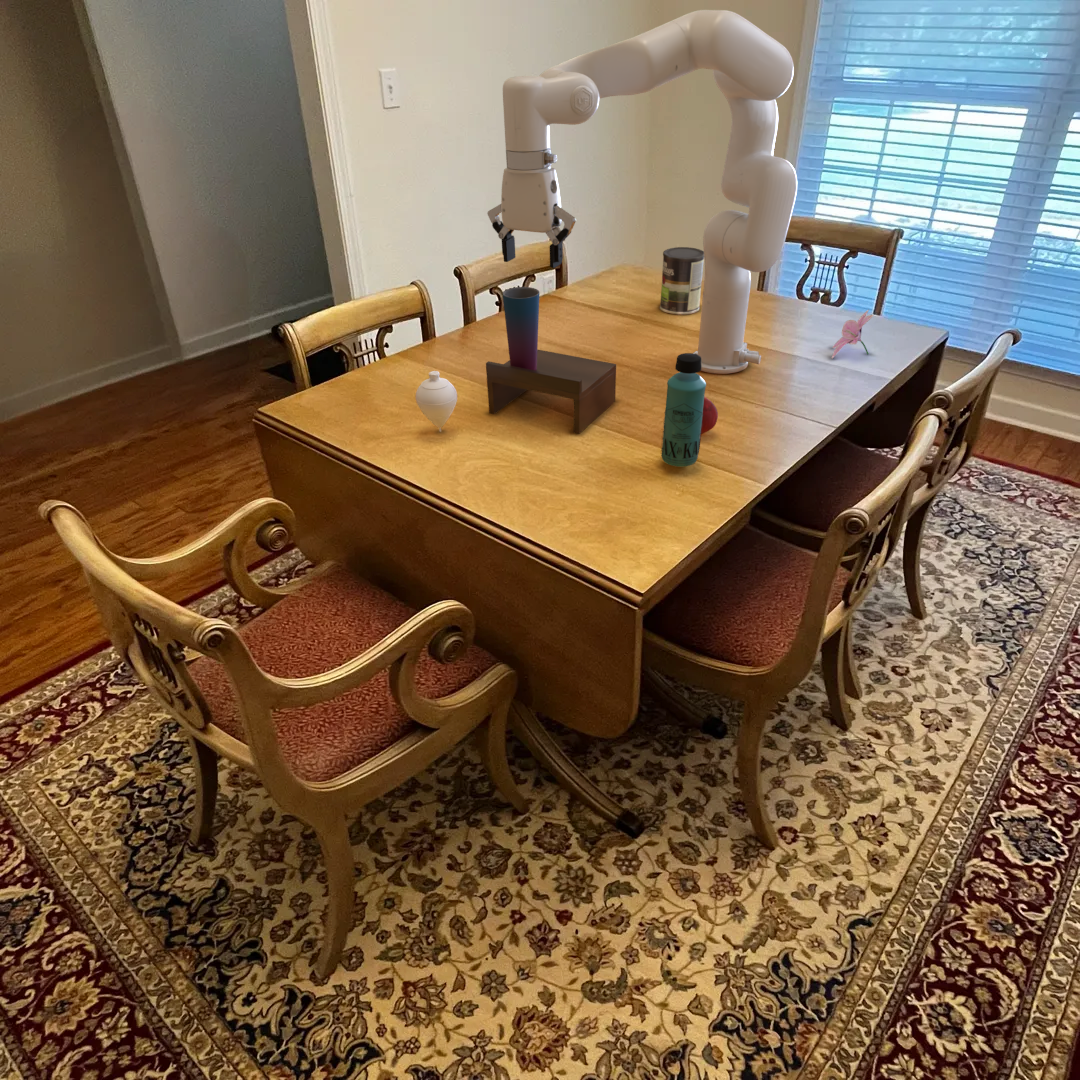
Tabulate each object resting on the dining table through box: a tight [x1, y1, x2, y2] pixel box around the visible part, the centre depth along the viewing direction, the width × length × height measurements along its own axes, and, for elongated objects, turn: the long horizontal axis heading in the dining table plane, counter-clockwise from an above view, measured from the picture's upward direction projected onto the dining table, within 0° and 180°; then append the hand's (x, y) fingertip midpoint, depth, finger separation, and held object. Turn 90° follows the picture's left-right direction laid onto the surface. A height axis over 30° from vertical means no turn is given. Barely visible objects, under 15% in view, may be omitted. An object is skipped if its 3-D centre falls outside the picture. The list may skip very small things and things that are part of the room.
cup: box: [502, 286, 540, 371], centre depth 150 cm, size 7×7×15 cm
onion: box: [700, 396, 719, 436], centre depth 145 cm, size 6×6×8 cm
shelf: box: [485, 348, 617, 435], centre depth 156 cm, size 16×20×10 cm
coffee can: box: [659, 246, 705, 316], centre depth 202 cm, size 10×10×14 cm
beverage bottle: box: [660, 352, 707, 468], centre depth 132 cm, size 6×7×20 cm
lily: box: [831, 309, 874, 359], centre depth 176 cm, size 12×12×10 cm
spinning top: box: [415, 370, 458, 433], centre depth 147 cm, size 8×8×12 cm
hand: (532, 262), depth 145 cm, fingers open, 9 cm apart
